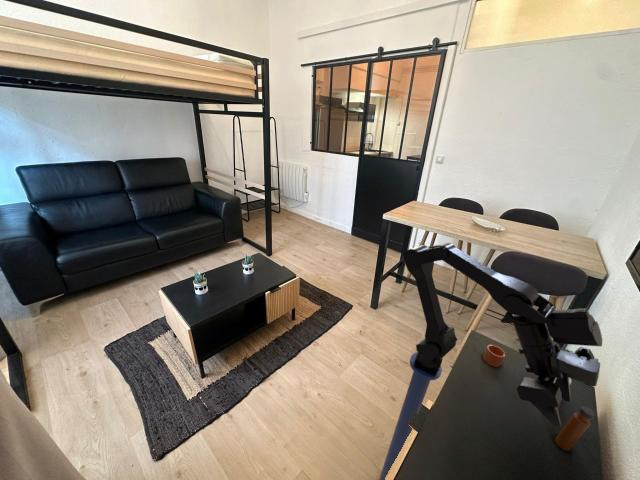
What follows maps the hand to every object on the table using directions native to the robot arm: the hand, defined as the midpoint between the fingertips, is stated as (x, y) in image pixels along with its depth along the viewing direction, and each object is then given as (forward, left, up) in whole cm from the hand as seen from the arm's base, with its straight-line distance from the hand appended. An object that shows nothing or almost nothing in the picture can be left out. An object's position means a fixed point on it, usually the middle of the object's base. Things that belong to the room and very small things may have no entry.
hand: (562, 413), depth 54 cm
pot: (-8, +26, -15) cm, 31 cm away
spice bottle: (+6, +6, -15) cm, 17 cm away
